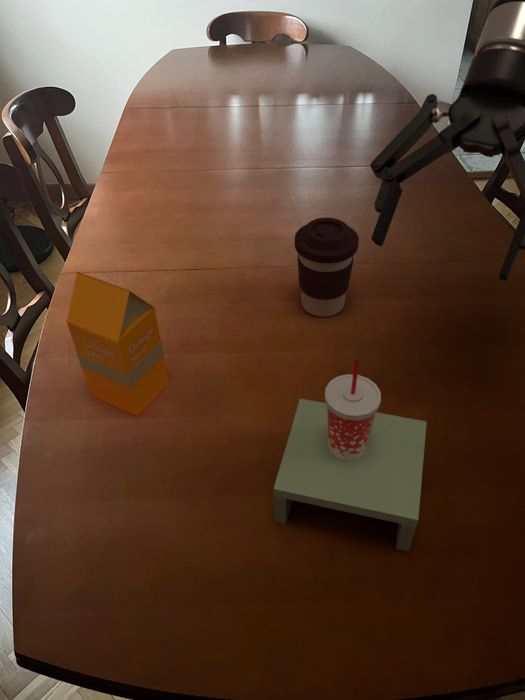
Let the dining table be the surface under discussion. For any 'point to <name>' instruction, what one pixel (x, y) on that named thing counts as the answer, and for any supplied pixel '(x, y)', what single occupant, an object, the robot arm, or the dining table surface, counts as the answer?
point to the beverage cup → (350, 413)
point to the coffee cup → (325, 264)
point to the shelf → (354, 470)
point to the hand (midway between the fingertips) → (437, 259)
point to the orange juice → (117, 344)
